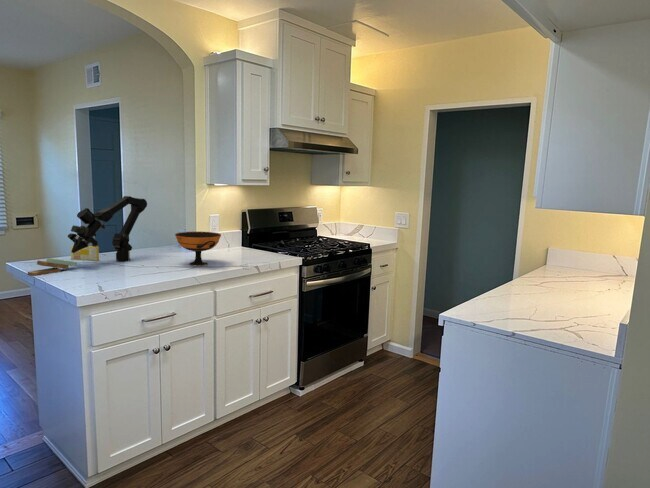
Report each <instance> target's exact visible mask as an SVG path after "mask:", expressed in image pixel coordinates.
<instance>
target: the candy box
mask: <svg viewBox="0 0 650 488" xmlns="http://www.w3.org/2000/svg"><path fill="white" fill-rule="evenodd" d="M73 246H74V244H72V245H70V260H71V261H73V260H76V261H90V262H98V261H99V260H100V247H99V246H96V247H93V246H92V245H91V246H90V245H88V247H86V248H83V249H81V250H79V251H77V252H75V253H72V252H71V251H72V248H73Z"/></svg>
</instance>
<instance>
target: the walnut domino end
mask: <svg viewBox="0 0 650 488" xmlns="http://www.w3.org/2000/svg"><path fill="white" fill-rule="evenodd" d="M60 272H61V268H55V267H48V268H43V269H37V270H32V271H27V275H29V276H31V277H37V276H42V274H43V275H47V274H49V273H50V274H54V273H60Z"/></svg>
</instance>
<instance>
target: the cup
mask: <svg viewBox="0 0 650 488" xmlns="http://www.w3.org/2000/svg"><path fill="white" fill-rule="evenodd" d="M174 235H175V239H176V240H177V243H178V244H179V246H181V247H182V248H183V249H185V250H188V251H191V252H195V253H194V254H195V257H194V258H195V259H194V261H192V262H189V263H188V265H189V264H190V265H189V266H192V265H196V266H195V267H200V266H199V265H204V266H208V262H205V261H203V260H202V252H205V251H209V250H211V249H214V248H215V247H216V246H217V245H218V243H219V241H220V239H221V237H222V234H221V233H219V232H214V231H183V232H182V231H181V232H177V233H174Z"/></svg>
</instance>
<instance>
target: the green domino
mask: <svg viewBox="0 0 650 488" xmlns="http://www.w3.org/2000/svg"><path fill="white" fill-rule="evenodd" d="M46 262H50V263H56V264H63V265H69V266H72V267H77V266H78V262H76V261H73V260H67V259H66V260H65V259H59V258H54V257H53V258H51V257H47V258H46Z"/></svg>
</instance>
